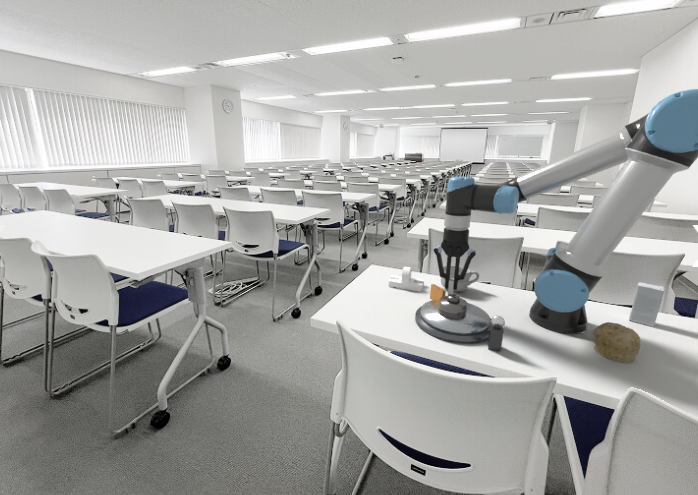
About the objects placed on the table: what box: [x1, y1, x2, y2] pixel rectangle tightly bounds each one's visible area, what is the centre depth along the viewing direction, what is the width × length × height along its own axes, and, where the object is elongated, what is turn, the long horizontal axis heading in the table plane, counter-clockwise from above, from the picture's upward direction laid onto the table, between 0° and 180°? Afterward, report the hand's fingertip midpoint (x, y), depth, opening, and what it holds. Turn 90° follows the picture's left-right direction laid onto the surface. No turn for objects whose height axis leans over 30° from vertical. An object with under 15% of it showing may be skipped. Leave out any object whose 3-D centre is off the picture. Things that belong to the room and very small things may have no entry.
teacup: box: [440, 265, 480, 292], centre depth 124 cm, size 14×11×8 cm
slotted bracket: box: [387, 266, 425, 292], centre depth 127 cm, size 13×7×8 cm, turn 71°
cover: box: [438, 293, 469, 320], centre depth 98 cm, size 8×8×6 cm
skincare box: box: [628, 281, 665, 328], centre depth 101 cm, size 6×4×12 cm
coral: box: [592, 321, 641, 364], centre depth 85 cm, size 9×9×8 cm
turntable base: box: [414, 305, 492, 345], centre depth 100 cm, size 23×23×1 cm
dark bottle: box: [487, 315, 506, 353], centre depth 86 cm, size 3×3×9 cm
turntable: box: [420, 283, 491, 336], centre depth 99 cm, size 20×22×7 cm
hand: (449, 298), depth 108 cm, fingers closed
